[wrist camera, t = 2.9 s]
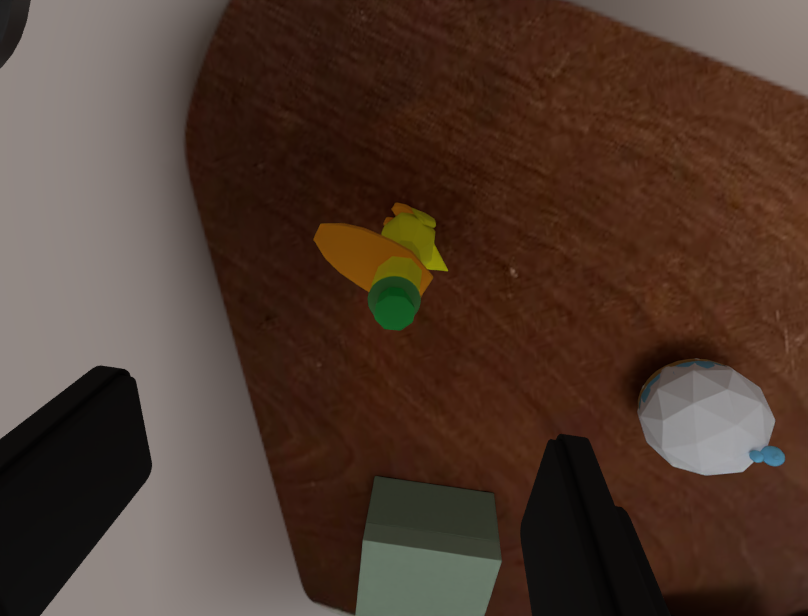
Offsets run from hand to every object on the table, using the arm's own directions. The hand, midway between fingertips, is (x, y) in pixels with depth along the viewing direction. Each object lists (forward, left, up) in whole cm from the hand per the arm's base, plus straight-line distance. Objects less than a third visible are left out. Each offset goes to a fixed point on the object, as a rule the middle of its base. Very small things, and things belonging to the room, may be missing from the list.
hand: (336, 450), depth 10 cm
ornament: (+20, -9, -20) cm, 29 cm away
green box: (+5, -29, -20) cm, 35 cm away
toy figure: (0, 0, -20) cm, 20 cm away
